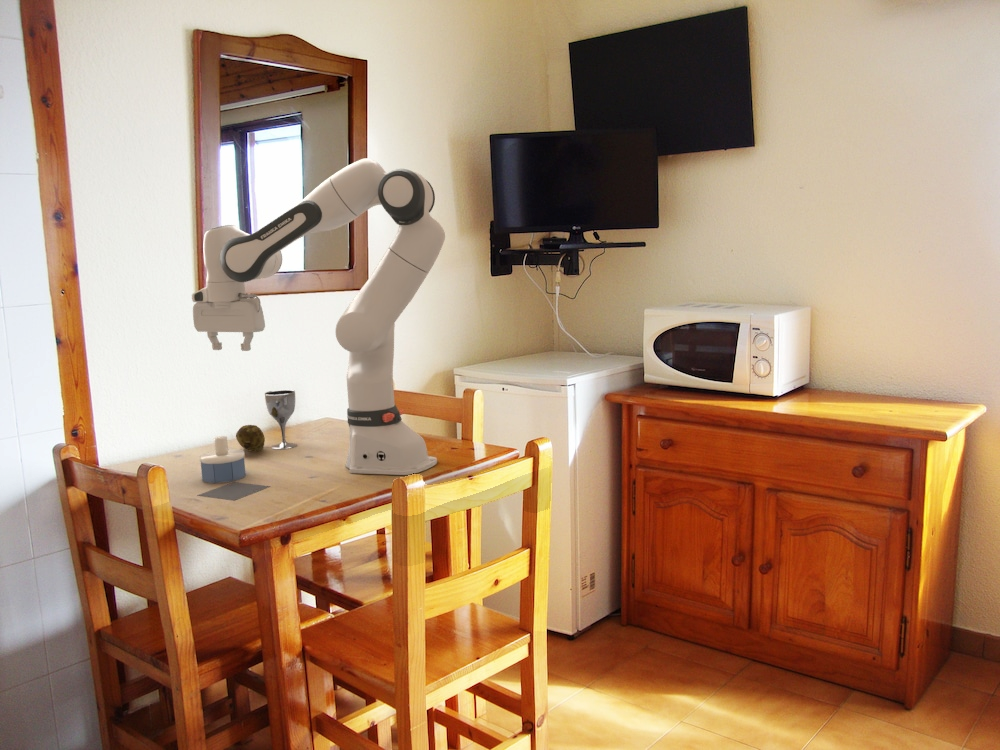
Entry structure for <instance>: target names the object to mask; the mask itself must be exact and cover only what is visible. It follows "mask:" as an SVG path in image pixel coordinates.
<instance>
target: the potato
mask: <svg viewBox="0 0 1000 750" xmlns="http://www.w3.org/2000/svg"><path fill="white" fill-rule="evenodd" d="M235 438H236V440H237V442H238V444H239V445H240V447H242V448H243V449H245V450H246V451H249V452H259V451H261V450H262V449H263V448H264V446H265V442H266V441H265V438H266V437H265V435H264V432H263V431H262V429H261V428H260V427H259V426H258V425H255V424H245V425H242V426H241V427H240V428H239V429H238V430H237V431H236V433H235Z"/></svg>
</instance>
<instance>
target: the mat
mask: <svg viewBox="0 0 1000 750" xmlns="http://www.w3.org/2000/svg"><path fill="white" fill-rule="evenodd" d="M270 487H271V486H270V485H264V484H263V485H262V484H256V483H255V484H254V483H246V482H238V481H237V482H236V481H231V482H230V483H227V484H224V485H222V486H220V487H216V488H214V489H210V490H208V491H205V492H203V493H202V492H201V493H200V494H197V497H204V498H213V499H219V500H226V501H234V502H235V501H238V500H239V499H242V498H245V497H248V496H250V495H253V494H255V493H257V492H260V491H263V490H266V489H268V488H270Z"/></svg>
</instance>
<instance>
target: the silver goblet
mask: <svg viewBox="0 0 1000 750" xmlns="http://www.w3.org/2000/svg"><path fill="white" fill-rule="evenodd" d="M264 401H265V405H266V409H267V411H268V414H269V415H270V416H271V417H272V418H273V420H275V421H276V422H277V423H278V425H279V427H280V431H281V438H282V439H281V442H280V443H276V444H273V445H272V446H271V447H270V448H271V449H272V450H287V449H291V448H292V449H294V448H295V447H297V446H298V445H299V444H298V443H296V442H289V441H287V440H286V425H287V422H288V421H289V419H291V417H292V415H293V413H294V412H295V409H296V391H295V390H294V389H278V390H277V389H276V390H271V391H266V392H264Z"/></svg>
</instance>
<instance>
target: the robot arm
mask: <svg viewBox="0 0 1000 750" xmlns="http://www.w3.org/2000/svg"><path fill="white" fill-rule="evenodd" d="M435 199H436V195H435V191H434V187H433V186H432V184H431V183H430V182H429V181H428V180H427V179H425V177H424V176H423V175H421V174H420V173H418V172H416V171H413V170H409V169H405V168H396V169H393V170H391V171H388V172H386V171H385V169H384V168H383V166H382V165H380V164H379V163H378V162H377V161H375V160H373V159H371V158H361V159H358V160H357V161H354V162H352V163H351V164H348V165H347V166H345V167H343V168H341V169H340V170H338V171H337V172H335V173H333V174H332V175H330V176H329V177H328V178H326V179H325V180H324V181H323V182H321V183H320V184H319V185H318V186H317V187H315V188H314V189H313V190H312V191H311V192H309V193H308V194H307V195H306V196H305V197H304V198H302V199H301V200H300V201H299V202H297V204H295V205H294V206H293V207H292V208H290V209H288V210H287V211H286V212H284V213H283V214H281V215H280V216H278V217H277V218H275V219H273V220H272V221H270V222H269V223H268V224H266V225H265V226H263V227H261V228H260V229H258V230H257V231H256V232H254V233H251V234H250V233H247V232H245V231H243V230H241V229H240V228H238V226H236V225H234V224H233V225H232V224H227V225H220V226H215V227H212V228H210V229H208V230H206V232H205V233H204V236H203V243H202V244H203V246H202V248H203V263H204V267H205V269H206V279H205V283H206V285H205V287H203V288H201V289H199V290H197V291H196V292H194V293H192V294H191V301H192V302H193V306H192V317H193V318H192V319H193V327H194V329H195V330H196V331H197V332H200V333H201V332H205V333H206V334H207V335H206V336H207V338H208V339H209V342H210V343H211V347H212V350H213V351H220V350H222V348H223V346H222V345H223V343H222V342H220V341H219V338H218V336H219V334H218V333H242V337H244V339H243V343H240V347H241V348H240V350H241V351H242V352H248V351H251V349H252V348H251V346H252V345H251V344H252V341H253V338H254V333H260V332H263V331H264V330H265V328H266V323H265V316H264V311H263V307H262V305H261V300H260V299H261V298H260V297H258V295H257V294H255V293H253V292H251V293H246V284H245V283H247V282H250V281H254V280H261V279H266V278H270V277H272V276H274V275H275V274H277V273H278V272H279V270H280V269H281V267H282V265H283V264H282V263H283V254H282V251H283V249H285V248H287V247H288V246H289V245H291V244H292V243H294V242H295V241H298V240H300V239H301V238H303V237H304V236H307V235H308V236H309V235H311V234H315V233H322V232H327V231H333V230H336V229H338V228H342V227H343V226H346V225H348V224H350V223H351V222H353V221H354V220H356V219H357V218H359V216H361V215H362V214H365V212H367V211H368V210H370V209H371V208H373V207H376V206H382V207H383V209H384V211H385V212H386V213H387V214H388V215H389V217H390V218H391V219H392V221H394V222H395V224H396V225H398V230H397V233H396V235H395V236H394V238H393V240H392V242H391V243H390V245H389V246H388V247H387V249H386V251H385V253H384V254H383V256H382V258H381V259H380V261H379V263H378V264H377V266H376V267H375V269H374V270H373V272H372V274H370V277H369V278H368V279H367V281H366V282H365V283H364V285H362V286H361V288H360V289H359V291H357V294H356V295H355V296H354V297H353V299H352V300H351V302H350V303H349V304H348V305H347V307H346V309H345V310H344V312H343V313H342V315H341V316H340V317H339V319H338V321H337V323H336V326H335V337H336V340H337V342H338V344H339V345H340V347H342V348H343V349H344V350H345V351H347V352H349V356H348V357H349V358H348V359H349V360H348V367H347V373H346V387H347V390H346V391H347V400H348V401H347V402H348V408H347V410H346V414H347V416H346V417H347V424H348V428H349V443H348V444H349V445H348V452H347V458H346V459H347V460H346V464H345V466H346V468H347V469H349V473H350V474H364V475H365V474H366V475H369V474H370V475H391V476H393V475H395V476H410V475H414V474H418V473H421V472H424V471H427V470H429V469H431V468H433V467H434V466H436V465H437V464H438V459H437V457H436V456H431V455H428V448H427V445H426V441H425V439H424V438H423V437H422V436H421V435H420V434H418V433H417V432H416V431H415V430H414V429H412V428H411V427H410V426H409V425H407V424H406V423H405V422H404V421H402V416H403V415H405V413H406V412H404V411H405V408H403V409H401V410H399V409H398V407H397V406H396V404H395V393H394V390H395V389H394V379H393V378H394V373H393V371H394V369H393V368H394V355H395V353H394V352H395V327H396V325H395V323H396V322H397V320H398V319H399V317H400V316H401V314H402V313H403V312H404V311H405V309H406V308H407V307H408V305H409V304H410V303H411V302H412V300H413V298H414V297H415V296H416V294H417V292H418V291H419V289H420V288H421V286H422V284H423V282H424V280H426V278H427V276H428V275H429V273H430V272H431V270H432V269H433V266H434V265H435V263H436V261H437V259H438V257H439V255H440V252H441V250H442V247H443V245H444V242H445V240H446V231H445V230H444V228H443V226H442V225H441V224H440V223H439V222H438V221H437V219H435V218H433V217H432V215H431V214H430V213H431V212H432V210H433V208H434V206H435ZM413 473H414V474H413Z"/></svg>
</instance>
